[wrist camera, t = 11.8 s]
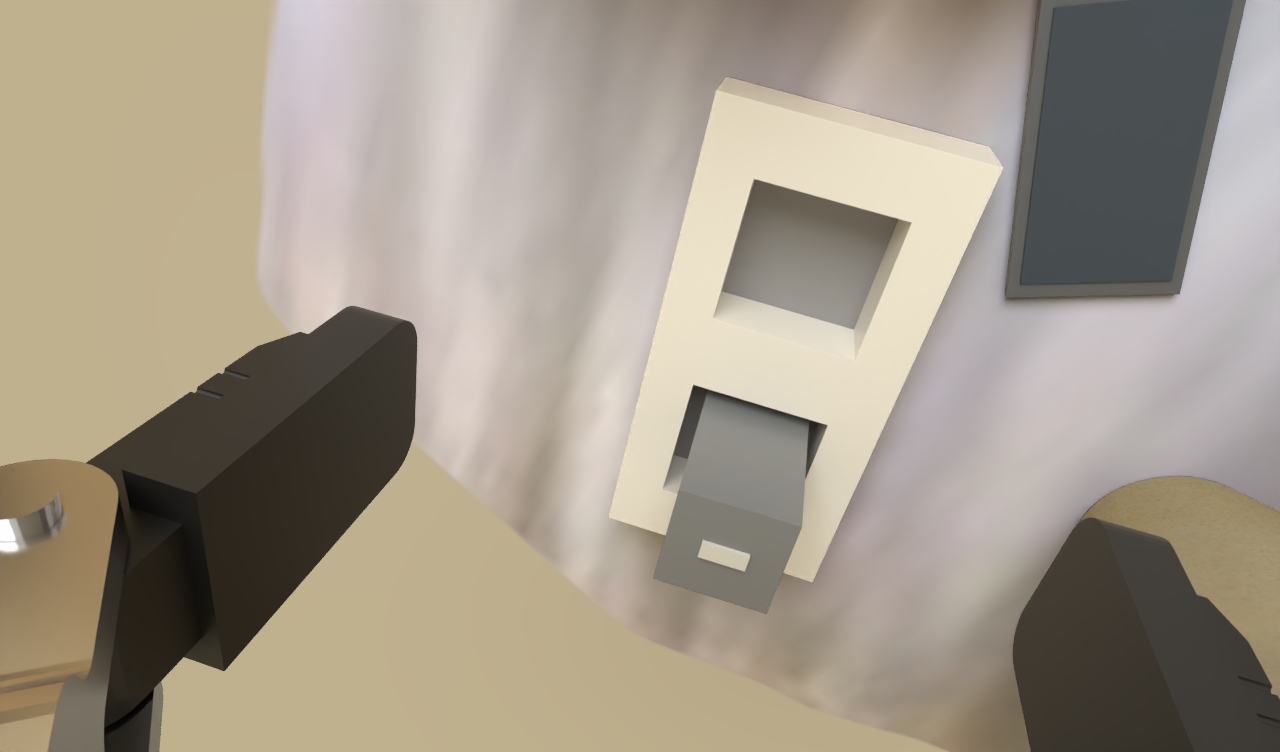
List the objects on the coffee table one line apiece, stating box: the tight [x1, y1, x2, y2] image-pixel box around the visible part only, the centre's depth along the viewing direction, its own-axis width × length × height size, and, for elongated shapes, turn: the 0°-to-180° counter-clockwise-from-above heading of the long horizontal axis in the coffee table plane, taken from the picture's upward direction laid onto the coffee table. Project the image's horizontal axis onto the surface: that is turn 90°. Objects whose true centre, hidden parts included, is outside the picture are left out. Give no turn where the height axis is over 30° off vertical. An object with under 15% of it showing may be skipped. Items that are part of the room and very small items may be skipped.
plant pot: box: [1080, 476, 1280, 699], centre depth 28 cm, size 15×15×16 cm
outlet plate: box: [609, 77, 1003, 582], centre depth 33 cm, size 10×20×3 cm, turn 168°
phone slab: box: [1005, 0, 1246, 298], centre depth 28 cm, size 6×11×1 cm, turn 7°
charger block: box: [653, 389, 809, 614], centre depth 33 cm, size 4×4×9 cm
